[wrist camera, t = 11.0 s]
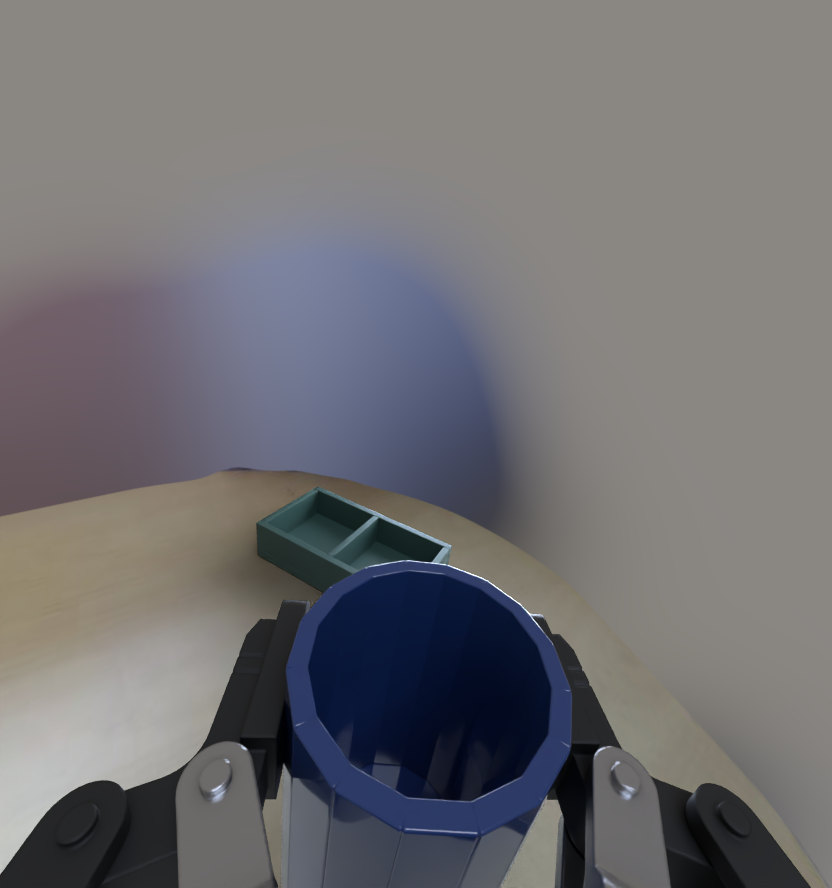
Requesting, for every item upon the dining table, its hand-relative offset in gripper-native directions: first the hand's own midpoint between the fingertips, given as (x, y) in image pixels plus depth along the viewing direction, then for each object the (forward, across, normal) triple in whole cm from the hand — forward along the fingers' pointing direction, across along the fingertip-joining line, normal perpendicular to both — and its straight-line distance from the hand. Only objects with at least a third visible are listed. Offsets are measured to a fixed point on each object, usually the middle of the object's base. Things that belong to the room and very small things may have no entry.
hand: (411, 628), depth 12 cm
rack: (+22, +2, +17) cm, 28 cm away
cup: (-2, 0, +8) cm, 8 cm away
